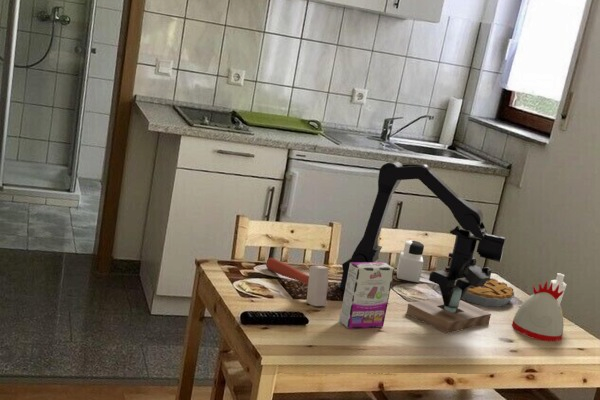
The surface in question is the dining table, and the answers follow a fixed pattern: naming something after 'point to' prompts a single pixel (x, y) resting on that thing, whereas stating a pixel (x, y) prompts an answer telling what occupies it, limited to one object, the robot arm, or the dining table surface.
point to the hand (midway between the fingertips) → (450, 305)
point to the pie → (489, 294)
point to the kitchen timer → (541, 315)
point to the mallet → (305, 279)
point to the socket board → (448, 315)
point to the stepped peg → (454, 301)
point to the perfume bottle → (561, 285)
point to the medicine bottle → (411, 261)
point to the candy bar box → (366, 294)
